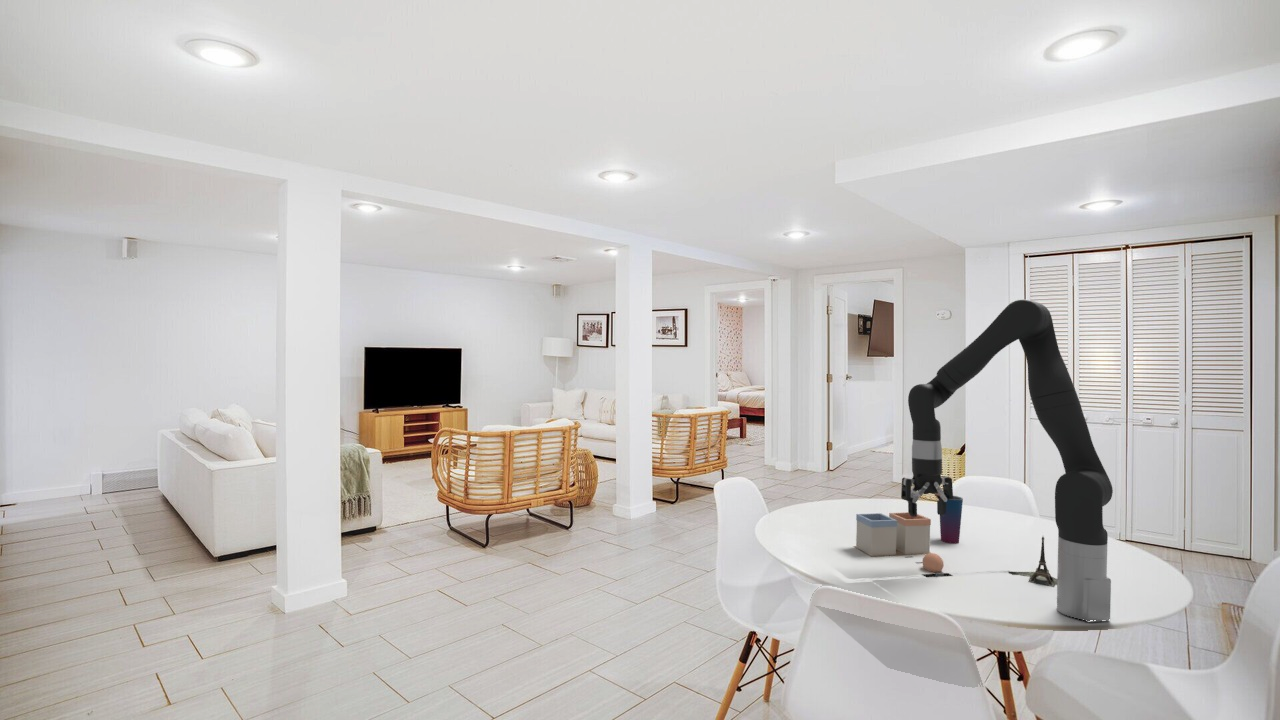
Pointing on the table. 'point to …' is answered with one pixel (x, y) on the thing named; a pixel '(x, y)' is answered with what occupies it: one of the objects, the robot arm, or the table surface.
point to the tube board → (892, 555)
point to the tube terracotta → (912, 533)
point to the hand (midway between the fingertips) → (927, 515)
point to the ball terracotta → (933, 562)
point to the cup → (951, 521)
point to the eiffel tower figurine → (1039, 572)
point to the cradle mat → (934, 572)
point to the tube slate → (876, 534)
